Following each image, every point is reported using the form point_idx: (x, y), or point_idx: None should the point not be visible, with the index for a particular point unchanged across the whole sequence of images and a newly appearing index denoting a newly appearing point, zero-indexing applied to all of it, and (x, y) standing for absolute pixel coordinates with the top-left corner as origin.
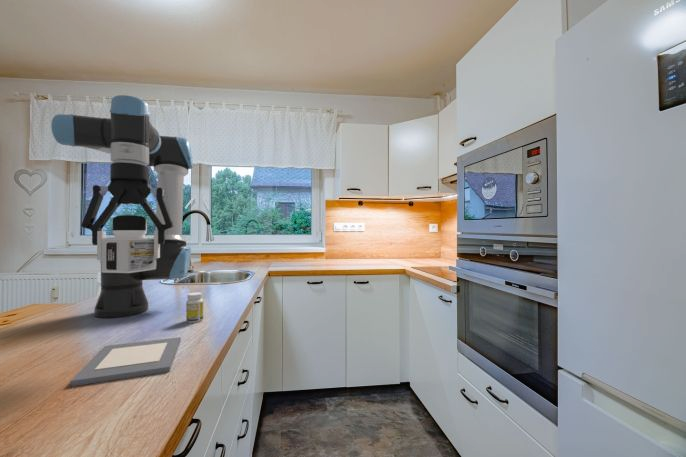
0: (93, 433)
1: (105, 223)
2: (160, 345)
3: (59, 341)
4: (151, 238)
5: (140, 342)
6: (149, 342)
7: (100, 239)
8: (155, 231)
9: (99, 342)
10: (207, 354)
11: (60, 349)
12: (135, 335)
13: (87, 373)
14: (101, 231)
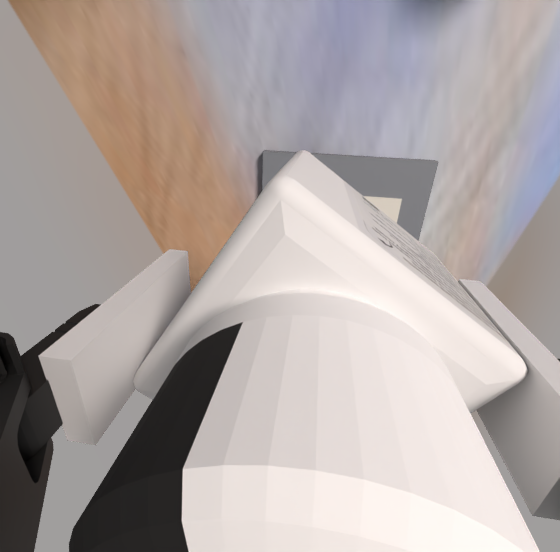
0: None
1: (3, 448)
2: (386, 214)
3: (119, 3)
4: (479, 407)
5: (340, 162)
6: (361, 172)
7: (130, 387)
8: (542, 510)
9: (232, 70)
10: (472, 276)
11: (160, 93)
12: (316, 35)
13: None
14: (98, 440)
